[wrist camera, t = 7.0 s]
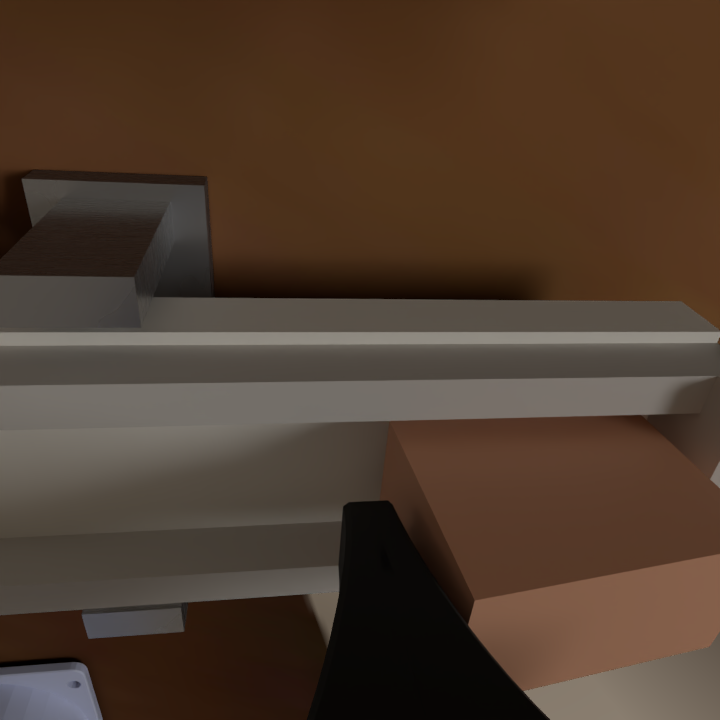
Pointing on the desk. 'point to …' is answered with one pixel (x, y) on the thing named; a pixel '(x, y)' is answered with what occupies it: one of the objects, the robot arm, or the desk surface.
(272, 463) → the beam
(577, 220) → the desk surface
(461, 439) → the block
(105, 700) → the desk surface
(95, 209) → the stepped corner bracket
